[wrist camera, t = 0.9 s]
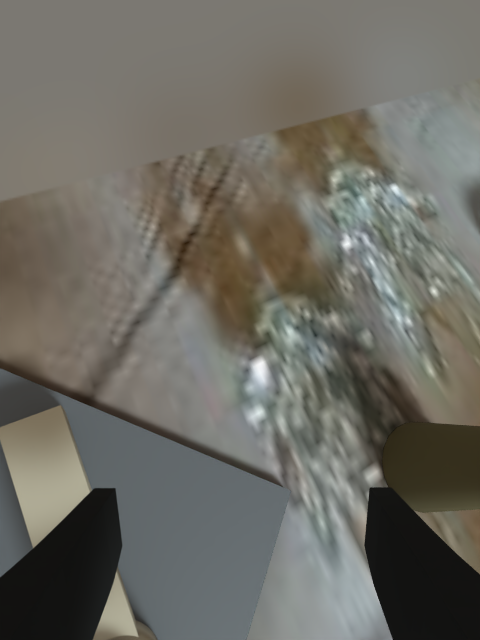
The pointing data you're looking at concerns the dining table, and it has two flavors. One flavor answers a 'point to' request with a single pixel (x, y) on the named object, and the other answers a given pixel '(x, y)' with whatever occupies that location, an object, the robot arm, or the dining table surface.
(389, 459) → the cork
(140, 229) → the dining table surface
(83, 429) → the charcoal board
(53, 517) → the wooden link
